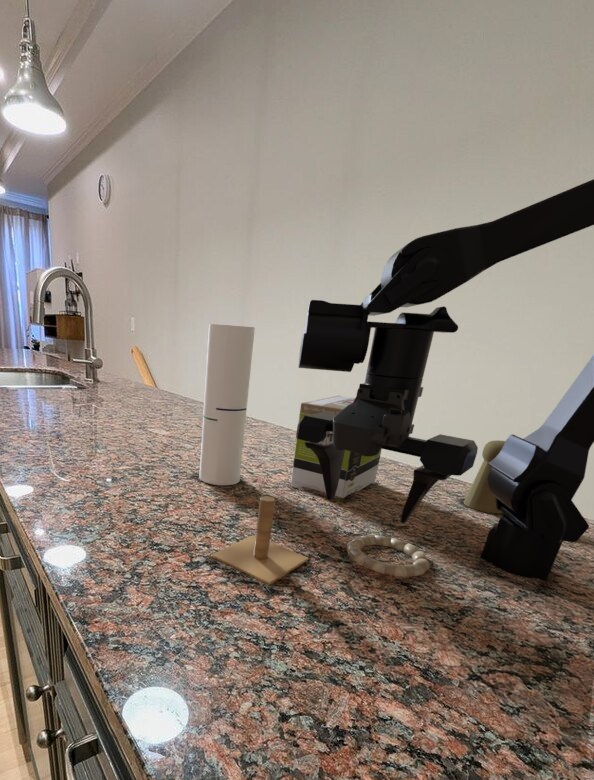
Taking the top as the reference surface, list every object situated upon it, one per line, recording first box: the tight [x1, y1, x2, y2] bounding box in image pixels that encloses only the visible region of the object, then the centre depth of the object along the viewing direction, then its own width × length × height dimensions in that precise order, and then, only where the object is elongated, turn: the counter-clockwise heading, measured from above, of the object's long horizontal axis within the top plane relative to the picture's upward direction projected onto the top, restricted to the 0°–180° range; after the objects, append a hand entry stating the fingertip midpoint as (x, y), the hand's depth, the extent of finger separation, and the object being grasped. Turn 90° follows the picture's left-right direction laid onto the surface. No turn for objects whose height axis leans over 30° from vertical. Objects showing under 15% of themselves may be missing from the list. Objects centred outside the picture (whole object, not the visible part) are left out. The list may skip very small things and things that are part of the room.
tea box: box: [290, 395, 382, 499], centre depth 77 cm, size 15×10×15 cm
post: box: [210, 495, 310, 586], centre depth 49 cm, size 8×8×8 cm
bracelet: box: [346, 534, 431, 578], centre depth 53 cm, size 9×9×2 cm
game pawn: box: [463, 440, 506, 514], centre depth 73 cm, size 6×6×11 cm
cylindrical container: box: [198, 323, 256, 486], centre depth 74 cm, size 7×7×25 cm
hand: (365, 510), depth 54 cm, fingers open, 9 cm apart
